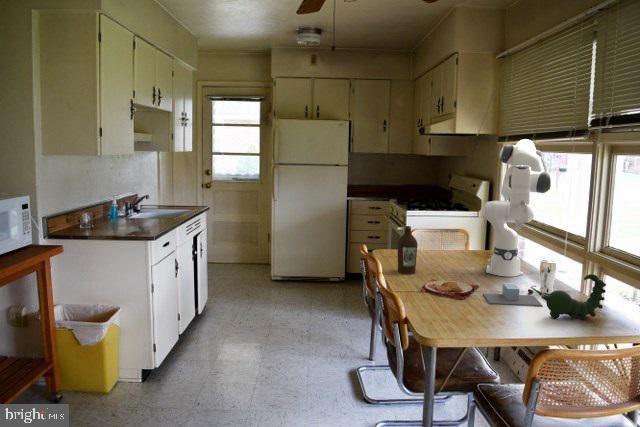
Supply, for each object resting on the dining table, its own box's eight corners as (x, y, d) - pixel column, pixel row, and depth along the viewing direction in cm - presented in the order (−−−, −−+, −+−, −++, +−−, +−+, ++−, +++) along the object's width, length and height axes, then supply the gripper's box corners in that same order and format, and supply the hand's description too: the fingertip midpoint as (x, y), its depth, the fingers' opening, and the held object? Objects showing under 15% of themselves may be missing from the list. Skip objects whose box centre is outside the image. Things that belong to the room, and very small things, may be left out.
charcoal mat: (483, 294, 229) (483, 293, 229) (533, 296, 226) (533, 295, 226) (488, 303, 215) (489, 302, 215) (542, 306, 212) (542, 305, 212)
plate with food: (479, 289, 241) (479, 282, 241) (464, 301, 219) (464, 293, 219) (431, 282, 254) (431, 275, 253) (412, 293, 232) (413, 286, 232)
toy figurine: (590, 317, 204) (532, 313, 202) (597, 272, 202) (539, 267, 199) (605, 325, 195) (544, 321, 192) (613, 278, 192) (552, 273, 190)
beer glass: (545, 294, 229) (547, 262, 227) (535, 290, 236) (537, 259, 234) (557, 293, 231) (560, 262, 229) (547, 289, 238) (549, 258, 236)
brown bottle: (394, 269, 274) (395, 225, 271) (412, 269, 275) (414, 224, 272) (399, 274, 263) (401, 228, 260) (419, 274, 265) (420, 227, 262)
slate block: (502, 282, 228) (507, 288, 218) (514, 283, 228) (519, 289, 218) (502, 293, 229) (506, 299, 219) (513, 293, 228) (518, 300, 218)
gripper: (533, 202, 220) (531, 233, 222) (521, 198, 240) (520, 226, 242) (518, 202, 221) (516, 233, 223) (508, 197, 241) (506, 226, 243)
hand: (518, 229), depth 233 cm, fingers closed
